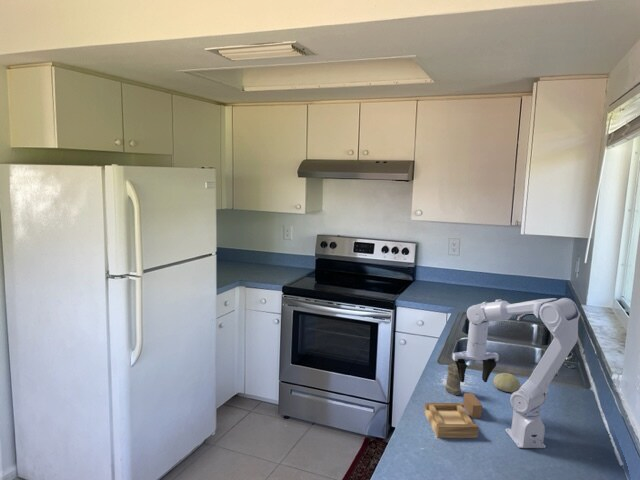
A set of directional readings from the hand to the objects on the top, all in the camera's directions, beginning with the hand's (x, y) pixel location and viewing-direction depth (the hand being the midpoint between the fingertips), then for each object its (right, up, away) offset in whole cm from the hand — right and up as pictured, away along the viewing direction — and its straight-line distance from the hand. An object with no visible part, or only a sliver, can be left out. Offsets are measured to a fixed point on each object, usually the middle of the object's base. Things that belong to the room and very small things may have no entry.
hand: (473, 380), depth 160 cm
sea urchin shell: (+18, -8, +20) cm, 28 cm away
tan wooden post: (0, -11, +1) cm, 11 cm away
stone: (-3, -8, +14) cm, 16 cm away
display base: (-9, -11, -7) cm, 16 cm away
